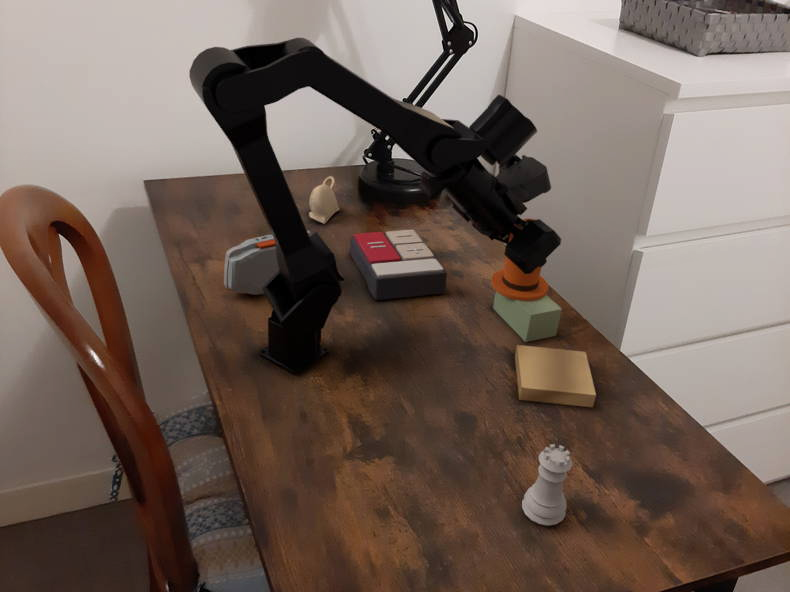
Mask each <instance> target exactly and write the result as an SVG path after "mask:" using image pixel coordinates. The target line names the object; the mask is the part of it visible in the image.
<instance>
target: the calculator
mask: <svg viewBox="0 0 790 592" xmlns="http://www.w3.org/2000/svg"><path fill="white" fill-rule="evenodd" d="M349 254H350V256H351V257H352V259H353V262H354V263H355V265H356V266H357V268H358V270H359V272H360V273H361V275H362V276H363V279H364V280H365V282H366V285H367V289H368V291H369V293H370V294H371V296H372V297H373V299H374V300H375V301H381V300H393V299H401V298H412V297H423V296H432V295H433V296H434V295H442V294H445V293H446V286H447V277H448V276H447V275H448V271H447V270H446V268H445V267H444V266H443V265H442V264H441V262H440V261H439V260H438V259H437V257H436V256H435V254H434V253H433V252H432V251H431V250H430V249H429V247H428V246H427V245H426V243H425V242H424V241H423V240H422V238H421V237H420V236H419V234H418V233H417V232H416V231H415V230H414V229H402V230H400V229H399V230H388V231H387V230H386V231H385V233H383V231H376V232H375V231H374V232H373V231H372V232H361V233H354V234H353V235H352V236H351V235H350V238H349Z"/></svg>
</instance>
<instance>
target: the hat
mask: <svg viewBox="0 0 790 592" xmlns="http://www.w3.org/2000/svg"><path fill="white" fill-rule="evenodd" d="M521 219H522V220H524V221H526V220H528V219H530V220H536V219H534V218H521ZM515 226H516V227H517V228H519V227H518V226H517V225H516V224H515ZM519 229H520V228H519ZM522 229H523V227H522ZM512 237H513V235H512V234H511V233H510V238H509V242H510V241H511V240H512V239H511V238H512ZM541 272H542V267H537V268H536V269H535V270H534V271H533V272H532V273H531V274H524V273H523V272H522V271H521V270H520V269H519V268H518V267H517V266H516V265H515V264H514V263H513V262H511V261H510V260H509V259H508V258H507V257H506V256H505V262H504V267H503V269H501V270H498V271H496V272H494V273H493V275H492V277H491V284H490V285H491V287H492V288H493V290H494V291H495V292H496V291H497V292H498V293H499V294H501V295H503V296H505V297H508V298H511V299H515V300H521V301H532V300H538V299H540V298H542V297H544V296H545V295H548V292H549V283H548V282H547V280H546V279H545V278H544V277H543V276H541Z"/></svg>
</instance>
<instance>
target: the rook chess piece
mask: <svg viewBox="0 0 790 592" xmlns="http://www.w3.org/2000/svg"><path fill="white" fill-rule="evenodd" d="M548 446H549V447H548ZM548 446H545V448H544V450H541V452H540V453H539V455H538V461H539V463H540V464H539V466H538V469H537V470H538V476H537V478H536V481H535V482H534V484H532V485H531V486H530V487H529V488H528V489H527V491H526V492H525V493H524V496H523V499H522V501H521V509H522V511H523V513H524V514H525V515H526V517H527V518H528V519H529V520H530V521H531V522H533V523H535V524H537V525H539V526H543V527H545V526H546V527H549V526H555V525H558V524H559V523H561V522H563V520H564V518H565V517H566V515H567V514H566V510H567V499H566V498H565V497H566V496H565V493H564V491H563V487H564V481H565V480H566V479H567V477H568V471H570V470H571V469H572V467H573V460H572V458H571V456H570V455H571V452H570V451H569V449H566V450H565V446H562V445H561V444H560V445H559V446H558V447H556V445H555V444H554V443H553V444H549V445H548Z"/></svg>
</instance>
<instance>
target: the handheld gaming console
mask: <svg viewBox="0 0 790 592" xmlns="http://www.w3.org/2000/svg"><path fill="white" fill-rule="evenodd" d="M307 232H308V235H309V237H310V236H311V235H313V234H314V233H312V232H311V231H310V230H307ZM223 267H224V268H223V284H224V287H225V288H226V289H227V290H228V291H229V292H230V291H232V292H234V293H235V294H236V293H237V294H250V295H254V296H257V295H265V293H264V291H263V286H264V285H265V284H266V283H267V282H268V281H269V280H270V279H271V278H272V277H273V276H274V275H275V274H276V273H277V272H278V271H279V266H278V262H277V257H276V244H275V239H274V237H273V235H272V233H271V234H266V235H263V236H258V237H253V238H248V239H246V240H245V241H243V242H242V243H240V244H238V245H235V246H233V247H231V248H229V249H228V250H226V252H225V258H224V266H223Z"/></svg>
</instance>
